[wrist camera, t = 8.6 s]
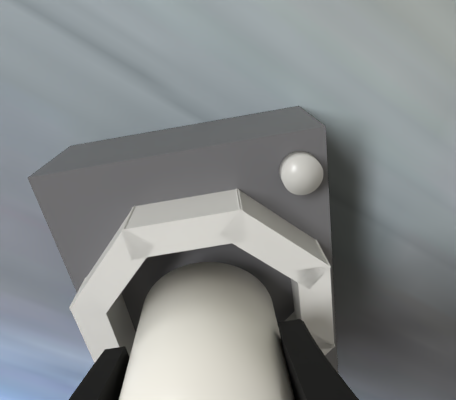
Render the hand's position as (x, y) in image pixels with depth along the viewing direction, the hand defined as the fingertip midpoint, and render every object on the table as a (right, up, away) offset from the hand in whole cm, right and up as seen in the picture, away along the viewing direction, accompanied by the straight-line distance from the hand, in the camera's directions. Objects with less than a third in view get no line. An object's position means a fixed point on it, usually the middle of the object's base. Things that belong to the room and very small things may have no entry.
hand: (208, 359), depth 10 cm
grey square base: (0, +3, +6) cm, 6 cm away
